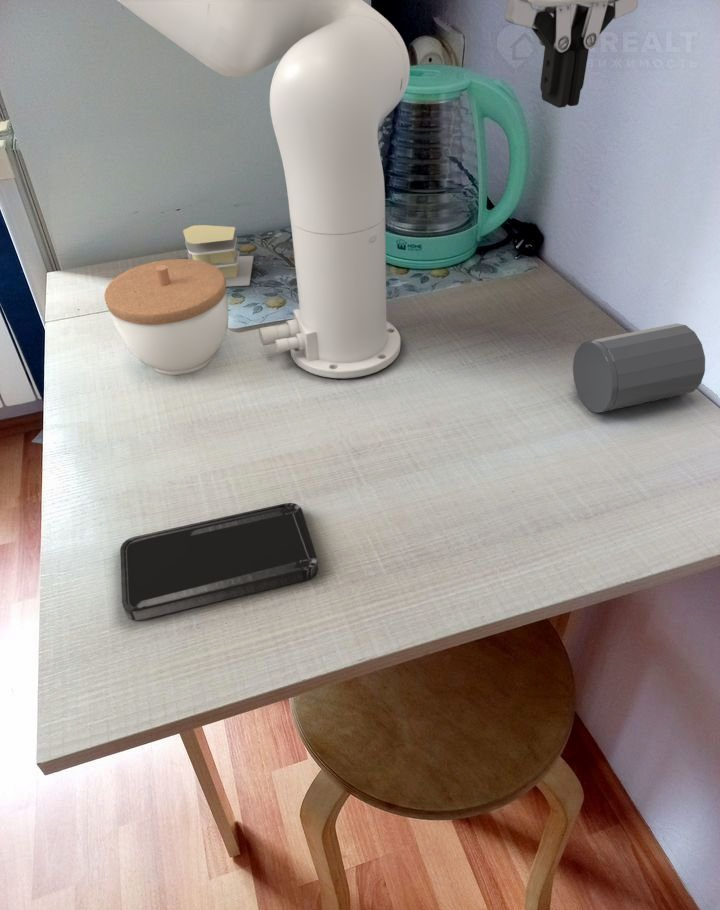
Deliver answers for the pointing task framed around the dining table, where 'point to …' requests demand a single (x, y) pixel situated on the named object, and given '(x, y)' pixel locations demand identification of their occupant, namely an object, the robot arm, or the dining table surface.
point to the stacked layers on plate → (219, 252)
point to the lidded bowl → (170, 313)
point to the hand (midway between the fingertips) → (559, 102)
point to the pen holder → (638, 367)
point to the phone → (215, 560)
